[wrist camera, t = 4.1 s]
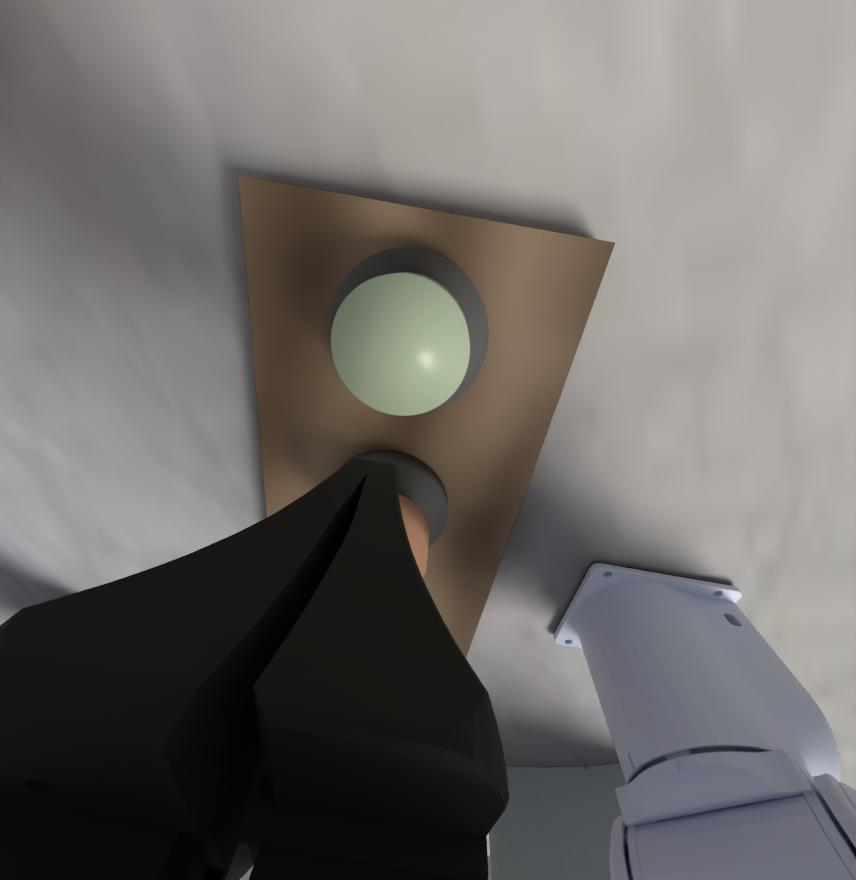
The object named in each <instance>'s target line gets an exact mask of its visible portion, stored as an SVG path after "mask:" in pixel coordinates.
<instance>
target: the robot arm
mask: <svg viewBox="0 0 856 880" xmlns="http://www.w3.org/2000/svg"><path fill="white" fill-rule="evenodd" d="M398 475H399V468H398V467H397V465H393V464H387V463H382V462H377V461H371V460H366V459H361V458H353V459H352V460H350V461H349V462H348V463H346V464H345V465H344V466H342V467H341V468H340V469H339V470H337V471H336V472H335V473H333V474H332V475H331V476H329V477H328V478H327V479H325V480H324V481H323V482H321V483H320V484H318V485H317V486H316V487H314V488H313V489H311V490H310V491H309V492H307V493H306V494H304V495H303V496H301V497H300V498H298V499H296V500H295V501H293V502H292V503H290V504H289V505H287V506H285V507H284V508H282V509H281V510H279V511H277V512H276V513H274V514H272V515H271V516H269V517H267V518H265V519H264V520H262V521H260V522H258V523H256V524H254V525H252V526H250V527H248V528H246V529H244V530H242V531H240V532H238V533H236V534H234V535H232V536H229V537H227V538H225V539H222V540H220V541H218V542H216V543H213V544H211V545H209V546H207V547H204V548H202V549H200V550H197V551H195V552H193V553H190V554H188V555H185V556H183V557H180V558H178V559H175V560H172V561H170V562H167V563H165V564H162V565H159V566H157V567H154V568H151V569H148V570H145V571H142V572H140V573H137V574H134V575H131V576H128V577H125V578H122V579H119V580H116V581H113V582H110V583H107V584H104V585H100V586H97V587H94V588H91V589H87V590H84V591H81V592H77V593H74V594H71V595H67V596H64V597H61V598H58V599H54V600H51V601H48V602H44V603H41V604H37V605H34V606H30V607H27V608H23V609H22V610H20V611H19V612H18V613H16V614H15V615H14V616H12V617H11V618H10V619H8V620H7V621H6V622H4V623H3V624H2V625H1V626H0V880H239V879H240V878H241V877H242V876H244V874H245V873H246V872H247V871H248V870H249V869H250V868H251V867H252V866H253V865H254V866H253V869H252V872H251V875H250V879H249V880H488V860H487V840H486V836H487V834H488V833H489V832H490V830H491V829H492V827H493V826H494V825H495V823H496V822H497V821H498V819H499V818H500V816H501V815H502V814H503V812H504V811H505V809H506V806H507V803H508V801H509V790H508V777H507V771H506V765H505V759H504V754H503V749H502V744H501V739H500V735H499V731H498V727H497V723H496V719H495V715H494V712H493V708H492V704H491V701H490V698H489V694H488V692H487V690H486V689H485V687H484V686H483V684H482V683H481V681H480V680H479V678H478V677H477V675H476V674H475V672H474V671H473V669H472V668H471V666H470V664H469V663H468V661H467V660H466V658H465V656H464V655H463V653H462V652H461V650H460V648H459V647H458V645H457V643H456V642H455V640H454V638H453V636H452V635H451V633H450V631H449V629H448V628H447V626H446V624H445V622H444V621H443V619H442V617H441V615H440V613H439V611H438V609H437V607H436V605H435V603H434V601H433V599H432V597H431V595H430V593H429V591H428V589H427V587H426V584H425V582H424V580H423V577H422V575H421V573H420V570H419V568H418V565H417V563H416V560H415V557H414V555H413V552H412V549H411V546H410V543H409V540H408V536H407V533H406V529H405V525H404V521H403V517H402V512H401V507H400V501H399V494H398ZM741 596H742V593H741V591H740V590H739V589H738V588H737V587H734V586H729V585H723V584H718V583H712V582H706V581H700V580H695V579H689V578H683V577H677V576H671V575H666V574H660V573H654V572H648V571H643V570H637V569H631V568H625V567H620V566H614V565H608V564H602V563H596V564H593V565H592V566H591V567H590V568H589V570H588V572H587V574H586V576H585V578H584V579H583V581H582V583H581V585H580V587H579V589H578V591H577V592H576V594H575V596H574V598H573V600H572V602H571V604H570V605H569V607H568V609H567V611H566V613H565V615H564V617H563V618H562V620H561V622H560V624H559V626H558V628H557V630H556V632H555V633H554V636H553V637H554V641H555V642H556V643H557V644H560V645H566V646H572V647H578V648H583V651H584V654H585V658H586V661H587V664H588V667H589V670H590V673H591V676H592V679H593V682H594V685H595V688H596V691H597V694H598V697H599V700H600V704H601V707H602V710H603V713H604V716H605V719H606V722H607V725H608V728H609V731H610V734H611V737H612V740H613V743H614V746H615V750H616V753H617V756H618V759H619V762H620V765H621V768H622V771H623V774H624V777H625V780H626V783H627V785H624V786H622V787H618V788H616V789H615V792H616V795H617V798H618V802H619V805H620V808H621V812H622V815H620V816H618V817H617V818H616V819H615V821H614V822H613V826H612V830H611V840H610V843H611V844H610V852H609V862H610V874H611V880H856V790H855V789H853V788H851V787H850V786H848V785H846V784H844V783H839V781H840V777H841V757H840V753H839V749H838V746H837V743H836V740H835V737H834V735H833V732H832V730H831V728H830V726H829V724H828V721H827V719H826V718H825V716H824V714H823V713H822V711H821V709H820V708H819V706H818V705H817V704H816V702H815V701H814V700H813V698H812V697H811V696H810V694H809V693H808V692H807V691H806V690H805V688H804V687H803V686H802V685H801V683H800V682H799V681H798V680H797V679H796V677H795V676H794V675H793V674H792V672H791V671H790V670H789V669H788V668H787V666H786V665H785V664H784V663H783V661H782V660H781V659H780V658H779V657H778V655H777V654H776V653H775V652H774V650H773V649H772V648H771V647H770V646H769V644H768V643H767V642H766V641H765V639H764V638H763V637H762V636H761V635H760V633H759V632H758V631H757V630H756V628H755V627H754V626H753V625H752V624H751V622H750V621H749V620H748V619H747V617H746V616H745V615H744V614H743V613H742V611H741V610H740V609H739V608H738V606H737V605H736V604H735V603H736V602H737V601H738V600H739V599H740V598H741Z"/></svg>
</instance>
